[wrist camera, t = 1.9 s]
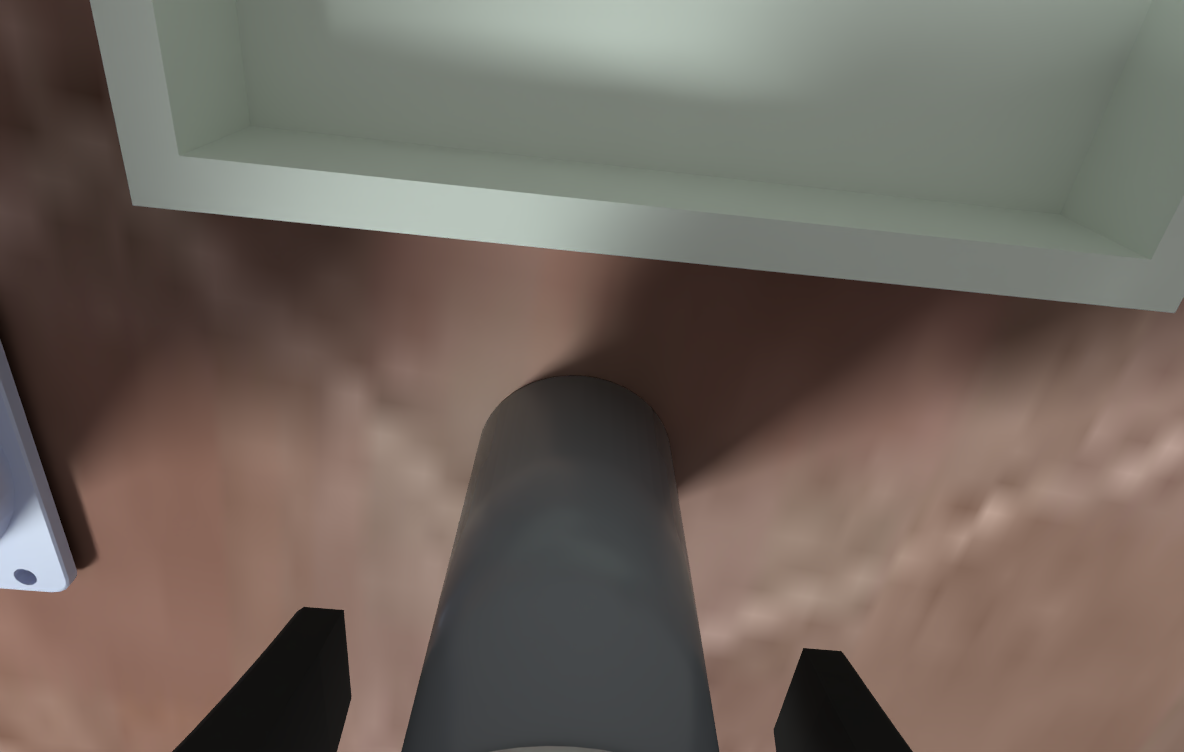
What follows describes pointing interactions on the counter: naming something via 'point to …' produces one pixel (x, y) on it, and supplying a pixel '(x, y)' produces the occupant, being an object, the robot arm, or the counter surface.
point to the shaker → (567, 588)
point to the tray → (685, 130)
